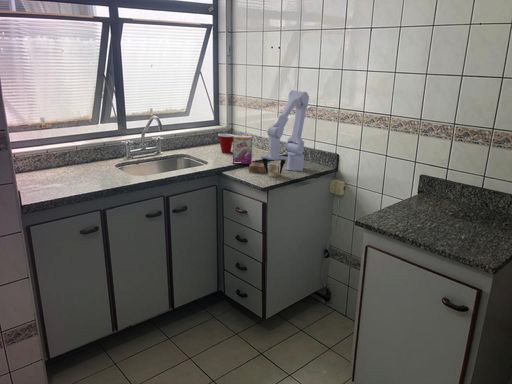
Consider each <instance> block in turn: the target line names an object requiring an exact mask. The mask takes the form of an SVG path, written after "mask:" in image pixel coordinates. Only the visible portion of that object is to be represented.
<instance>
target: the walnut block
mask: <svg viewBox="0 0 512 384" xmlns="http://www.w3.org/2000/svg"><path fill="white" fill-rule="evenodd" d="M248 165H249V166H248V172H249V173H255V174H256V173H257V174H264V173H265V172H266V170H265V166H264V164H263V162H256V161H252V163H251V164H248Z"/></svg>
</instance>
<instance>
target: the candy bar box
mask: <svg viewBox="0 0 512 384" xmlns="http://www.w3.org/2000/svg"><path fill="white" fill-rule="evenodd" d="M233 135H234V137H233V141H232V164H234V162H241V163H245V164H244V165H250V164H251V163H252V162H253V142H254V141H253V139H254V138H253V137H254V136H253V135H252V136H251V135H237V134H236V135H235V134H233Z"/></svg>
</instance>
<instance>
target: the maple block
mask: <svg viewBox="0 0 512 384" xmlns="http://www.w3.org/2000/svg"><path fill="white" fill-rule="evenodd" d="M279 168H280V164H279V163H269V165H268V177H269V178H278V177H279V174H280V169H279Z"/></svg>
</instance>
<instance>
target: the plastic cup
mask: <svg viewBox="0 0 512 384" xmlns="http://www.w3.org/2000/svg"><path fill="white" fill-rule="evenodd" d="M234 135H235V134H232V133H218V134H217V136H218V139H219V146H220V150H221V153H222V154H230V153H231V150H232V148H233V137H234Z"/></svg>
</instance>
